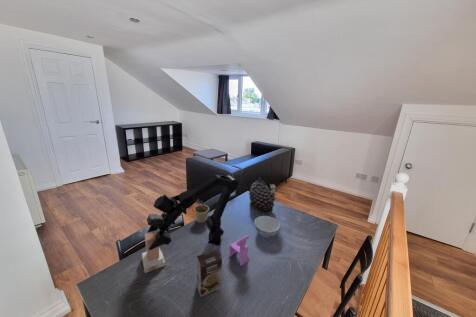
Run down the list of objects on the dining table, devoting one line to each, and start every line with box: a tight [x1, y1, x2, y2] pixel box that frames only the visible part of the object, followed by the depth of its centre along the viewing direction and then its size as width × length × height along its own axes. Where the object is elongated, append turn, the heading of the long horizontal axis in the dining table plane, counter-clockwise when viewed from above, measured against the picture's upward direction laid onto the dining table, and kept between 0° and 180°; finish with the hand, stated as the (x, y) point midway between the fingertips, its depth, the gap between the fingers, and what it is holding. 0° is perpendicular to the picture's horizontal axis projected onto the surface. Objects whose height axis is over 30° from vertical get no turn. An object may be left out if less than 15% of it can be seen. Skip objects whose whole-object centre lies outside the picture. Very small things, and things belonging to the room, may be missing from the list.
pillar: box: [144, 230, 160, 261], centre depth 94 cm, size 5×5×12 cm
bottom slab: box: [141, 249, 166, 274], centre depth 98 cm, size 9×9×2 cm
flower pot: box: [193, 204, 210, 224], centre depth 130 cm, size 9×9×9 cm
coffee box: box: [196, 249, 223, 298], centre depth 85 cm, size 9×6×16 cm
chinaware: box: [254, 215, 281, 239], centre depth 121 cm, size 15×15×8 cm
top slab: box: [141, 247, 164, 269], centre depth 97 cm, size 8×8×2 cm
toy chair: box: [228, 234, 250, 267], centre depth 102 cm, size 8×9×15 cm
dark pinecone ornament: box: [248, 176, 276, 216], centre depth 144 cm, size 21×15×25 cm
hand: (147, 242), depth 93 cm, fingers open, 9 cm apart
